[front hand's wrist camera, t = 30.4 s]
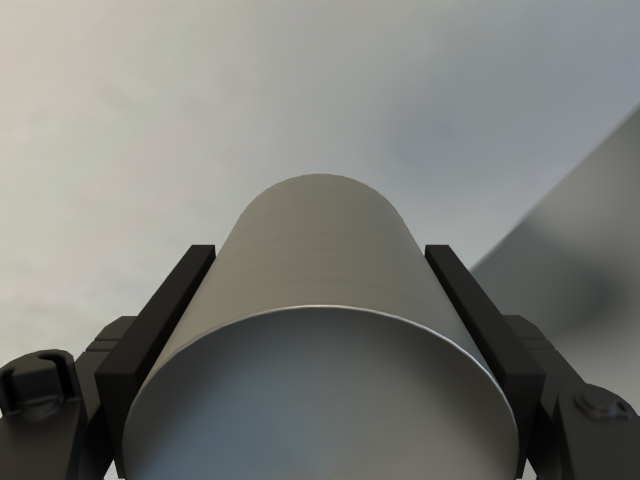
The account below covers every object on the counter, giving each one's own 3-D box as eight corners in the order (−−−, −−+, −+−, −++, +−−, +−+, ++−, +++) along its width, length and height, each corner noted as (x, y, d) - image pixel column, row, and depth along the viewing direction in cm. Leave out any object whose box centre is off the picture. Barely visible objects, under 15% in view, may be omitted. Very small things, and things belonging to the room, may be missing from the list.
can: (451, 243, 16) (607, 441, 7) (340, 370, 18) (359, 640, 9) (294, 133, 14) (256, 216, 6) (194, 285, 16) (56, 512, 8)
